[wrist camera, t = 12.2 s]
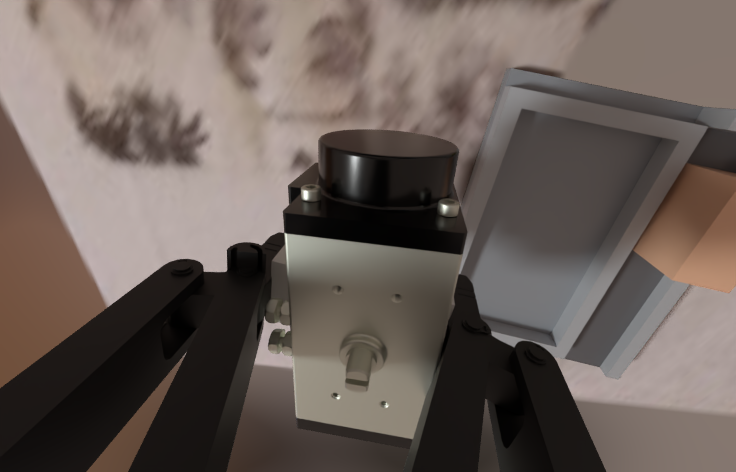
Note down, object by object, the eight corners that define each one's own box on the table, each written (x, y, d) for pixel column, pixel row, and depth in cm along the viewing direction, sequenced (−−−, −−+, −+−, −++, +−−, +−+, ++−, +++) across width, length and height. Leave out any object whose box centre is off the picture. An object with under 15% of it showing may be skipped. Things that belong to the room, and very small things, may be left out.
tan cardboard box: (678, 161, 20) (743, 179, 16) (731, 172, 20) (811, 194, 16) (626, 245, 23) (671, 280, 19) (673, 256, 23) (729, 293, 18)
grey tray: (506, 69, 20) (522, 65, 17) (769, 122, 20) (838, 129, 16) (424, 315, 29) (425, 343, 26) (604, 359, 28) (628, 394, 25)
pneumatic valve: (447, 117, 17) (491, 191, 6) (418, 299, 22) (414, 508, 11) (342, 109, 17) (217, 163, 7) (338, 288, 23) (264, 477, 12)
